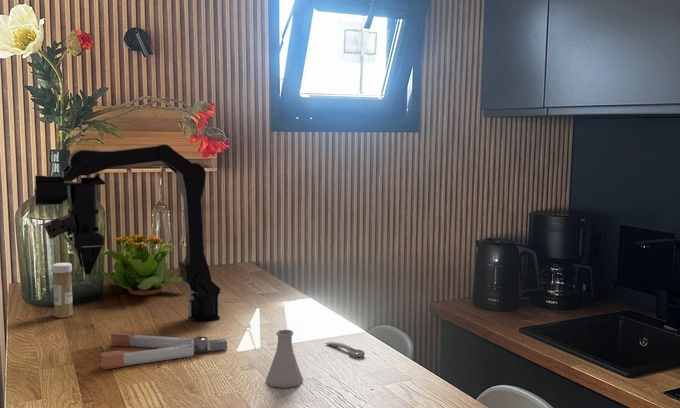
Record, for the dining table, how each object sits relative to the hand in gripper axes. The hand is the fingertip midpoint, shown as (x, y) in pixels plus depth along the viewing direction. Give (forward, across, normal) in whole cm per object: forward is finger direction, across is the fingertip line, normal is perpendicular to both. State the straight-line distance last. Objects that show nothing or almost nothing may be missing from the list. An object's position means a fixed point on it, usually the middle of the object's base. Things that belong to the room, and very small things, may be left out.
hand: (85, 270), depth 155 cm
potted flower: (+15, -32, +20) cm, 41 cm away
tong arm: (+14, +19, +13) cm, 27 cm away
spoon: (+15, +37, +49) cm, 63 cm away
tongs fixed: (+14, +26, +13) cm, 32 cm away
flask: (+15, +48, +30) cm, 59 cm away
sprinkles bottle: (+15, -16, -4) cm, 22 cm away
